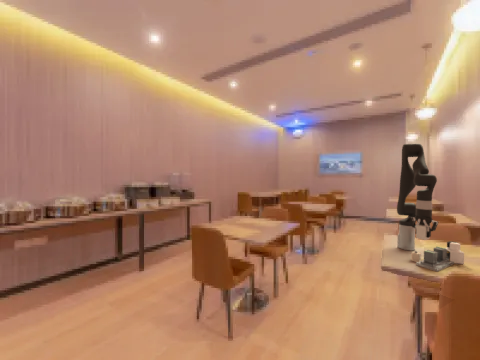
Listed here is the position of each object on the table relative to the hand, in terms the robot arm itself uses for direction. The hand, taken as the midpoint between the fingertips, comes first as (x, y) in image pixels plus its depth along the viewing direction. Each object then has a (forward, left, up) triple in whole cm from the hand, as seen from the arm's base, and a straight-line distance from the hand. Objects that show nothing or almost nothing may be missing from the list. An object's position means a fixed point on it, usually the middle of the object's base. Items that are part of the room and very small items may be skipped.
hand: (422, 236), depth 133 cm
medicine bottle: (+7, +22, -17) cm, 29 cm away
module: (0, 0, -1) cm, 1 cm away
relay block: (-5, +3, -17) cm, 18 cm away
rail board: (+4, +6, -17) cm, 18 cm away
